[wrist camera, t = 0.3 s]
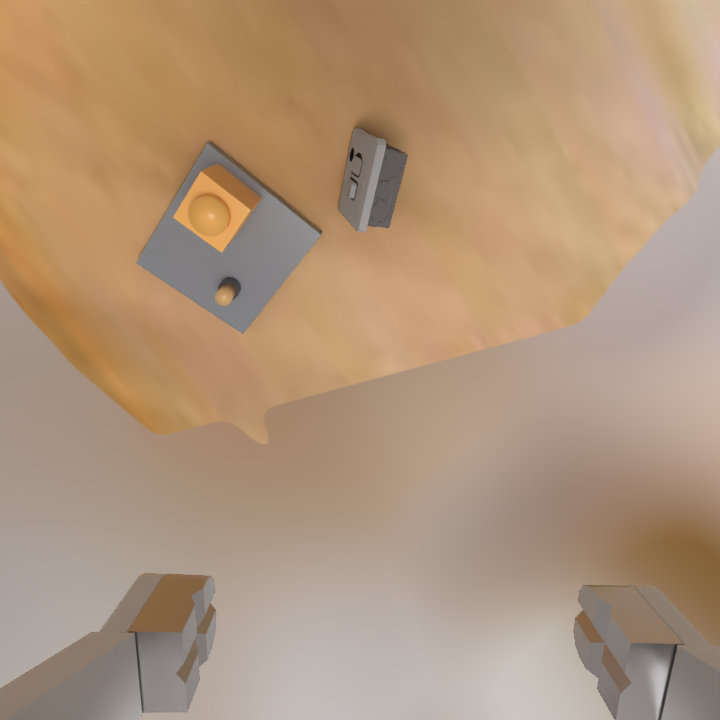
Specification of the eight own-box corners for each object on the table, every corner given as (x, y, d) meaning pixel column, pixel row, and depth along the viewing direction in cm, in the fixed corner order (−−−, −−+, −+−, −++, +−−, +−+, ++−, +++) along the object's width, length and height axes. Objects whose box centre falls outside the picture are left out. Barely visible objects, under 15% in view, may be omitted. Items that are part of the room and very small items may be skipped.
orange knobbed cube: (218, 163, 50) (196, 173, 44) (262, 198, 52) (247, 213, 46) (192, 204, 53) (167, 220, 46) (235, 236, 55) (217, 257, 48)
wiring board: (211, 141, 51) (196, 146, 46) (321, 231, 56) (318, 244, 51) (141, 259, 58) (121, 273, 53) (245, 329, 63) (236, 347, 58)
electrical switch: (353, 126, 50) (361, 134, 42) (396, 137, 51) (412, 146, 43) (337, 209, 55) (341, 230, 47) (377, 217, 56) (388, 239, 48)
